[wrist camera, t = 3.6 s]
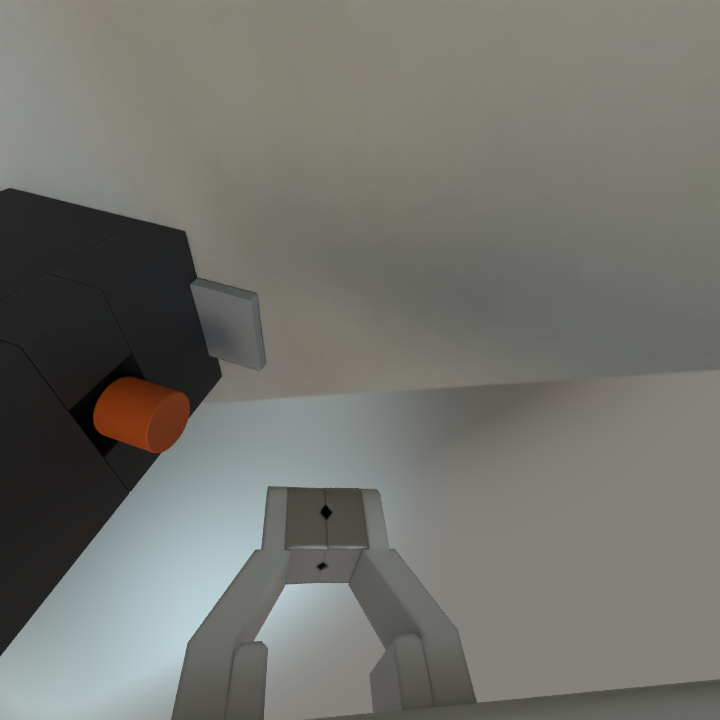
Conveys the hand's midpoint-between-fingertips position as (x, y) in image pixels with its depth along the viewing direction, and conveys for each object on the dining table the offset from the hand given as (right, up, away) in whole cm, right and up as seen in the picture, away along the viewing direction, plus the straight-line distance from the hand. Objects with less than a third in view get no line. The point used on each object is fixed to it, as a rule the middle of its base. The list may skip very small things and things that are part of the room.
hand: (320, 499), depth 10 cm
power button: (-9, +2, +10) cm, 14 cm away
